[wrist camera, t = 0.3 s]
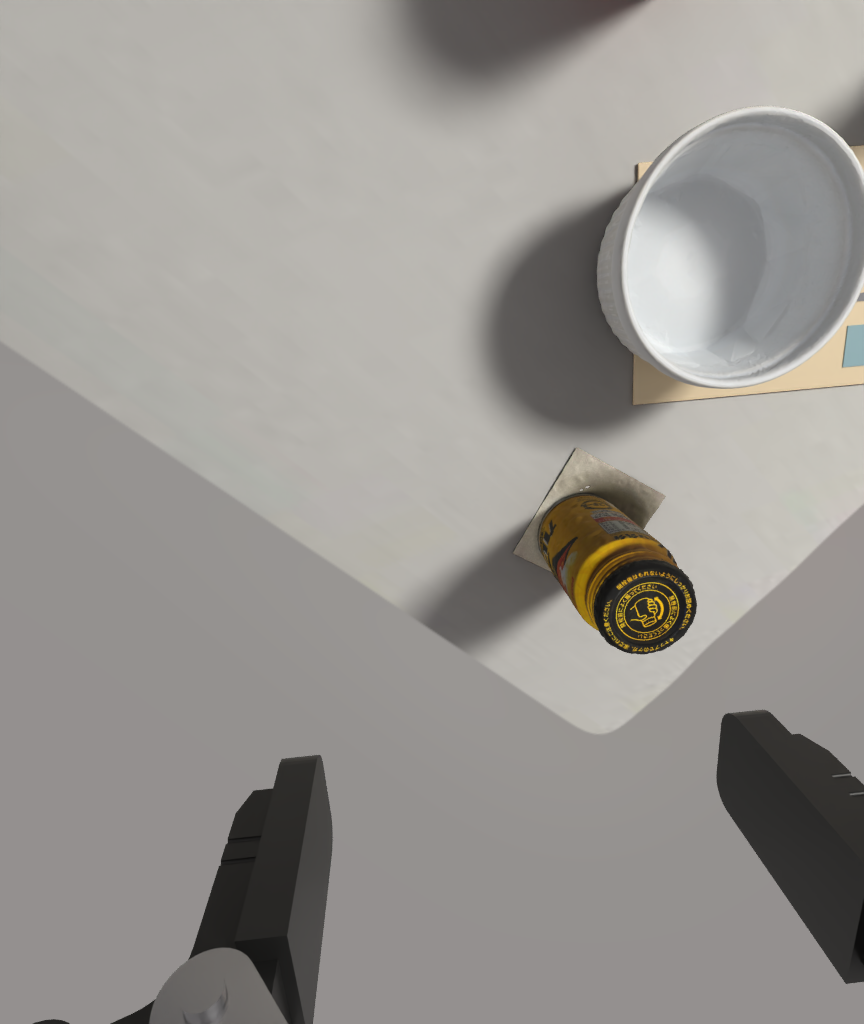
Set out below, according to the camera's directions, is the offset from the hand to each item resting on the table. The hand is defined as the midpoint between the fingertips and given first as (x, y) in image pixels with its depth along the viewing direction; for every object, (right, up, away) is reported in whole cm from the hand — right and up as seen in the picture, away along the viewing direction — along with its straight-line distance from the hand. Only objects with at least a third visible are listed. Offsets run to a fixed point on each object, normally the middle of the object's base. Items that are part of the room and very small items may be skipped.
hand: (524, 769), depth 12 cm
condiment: (+9, +4, +30) cm, 31 cm away
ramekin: (+14, +20, +25) cm, 35 cm away
